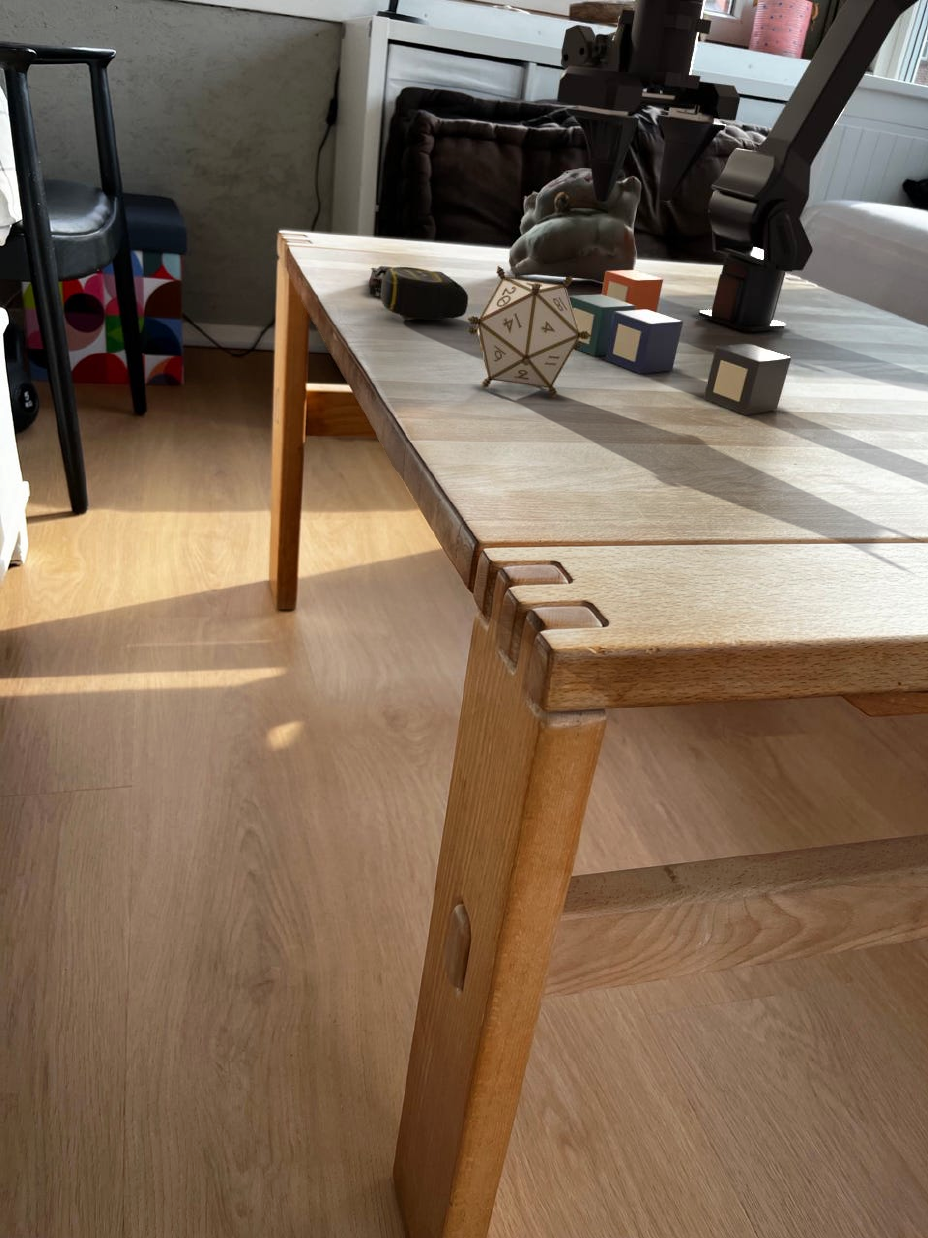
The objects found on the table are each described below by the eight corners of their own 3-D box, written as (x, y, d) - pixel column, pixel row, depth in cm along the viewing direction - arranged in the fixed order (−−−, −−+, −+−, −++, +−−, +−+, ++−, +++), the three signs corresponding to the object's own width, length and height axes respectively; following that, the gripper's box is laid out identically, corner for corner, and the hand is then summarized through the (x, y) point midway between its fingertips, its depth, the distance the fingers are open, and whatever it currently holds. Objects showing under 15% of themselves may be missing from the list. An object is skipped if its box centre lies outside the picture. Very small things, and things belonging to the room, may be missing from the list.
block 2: (636, 356, 87) (646, 308, 85) (672, 370, 84) (683, 321, 82) (603, 360, 84) (613, 311, 82) (639, 374, 82) (650, 323, 80)
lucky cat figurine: (482, 272, 111) (496, 145, 111) (536, 308, 121) (549, 191, 121) (608, 258, 102) (623, 120, 102) (655, 297, 112) (669, 172, 112)
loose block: (625, 310, 103) (633, 269, 101) (654, 320, 100) (663, 279, 98) (597, 312, 101) (604, 270, 99) (627, 323, 98) (635, 280, 96)
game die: (522, 446, 74) (542, 359, 65) (435, 377, 76) (443, 283, 67) (598, 374, 77) (628, 282, 68) (513, 310, 79) (531, 211, 70)
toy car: (371, 279, 101) (373, 257, 100) (406, 284, 101) (408, 261, 100) (366, 297, 94) (368, 273, 93) (404, 301, 94) (406, 278, 93)
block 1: (593, 340, 90) (601, 293, 88) (626, 352, 87) (635, 305, 86) (560, 343, 88) (568, 295, 86) (593, 356, 85) (602, 307, 83)
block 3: (734, 393, 80) (748, 342, 78) (777, 409, 77) (791, 357, 76) (702, 398, 78) (714, 346, 76) (744, 415, 75) (758, 361, 73)
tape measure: (467, 329, 88) (472, 285, 86) (389, 325, 85) (394, 279, 84) (444, 310, 93) (449, 267, 91) (370, 305, 91) (374, 262, 89)
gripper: (659, 7, 96) (628, 186, 103) (522, -20, 84) (498, 185, 91) (761, 15, 89) (720, 206, 96) (628, -12, 77) (593, 208, 85)
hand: (633, 201), depth 92 cm, fingers open, 9 cm apart
